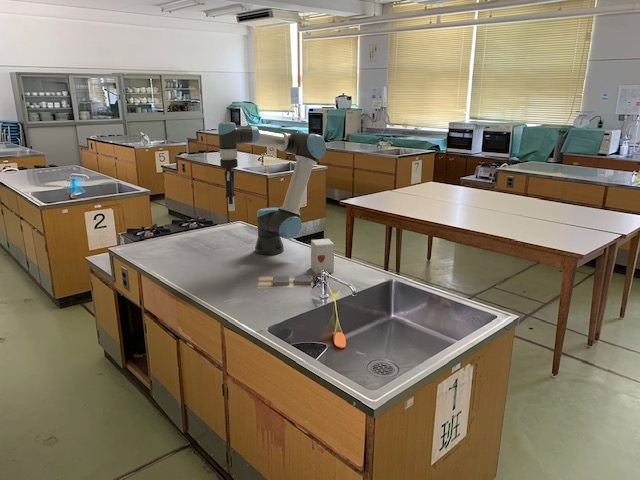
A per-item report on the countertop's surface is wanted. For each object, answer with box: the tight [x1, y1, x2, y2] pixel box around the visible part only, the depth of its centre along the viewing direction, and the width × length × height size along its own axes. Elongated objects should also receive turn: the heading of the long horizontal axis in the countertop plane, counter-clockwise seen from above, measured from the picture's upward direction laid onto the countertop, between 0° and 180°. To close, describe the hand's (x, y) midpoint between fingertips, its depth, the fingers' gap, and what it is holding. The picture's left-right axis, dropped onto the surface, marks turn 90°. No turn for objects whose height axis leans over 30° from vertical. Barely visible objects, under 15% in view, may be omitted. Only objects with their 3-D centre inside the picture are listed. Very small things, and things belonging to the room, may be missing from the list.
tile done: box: [294, 274, 312, 285], centre depth 214 cm, size 7×7×2 cm
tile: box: [273, 275, 290, 286], centre depth 214 cm, size 2×7×7 cm
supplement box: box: [310, 238, 335, 274], centre depth 228 cm, size 9×9×15 cm
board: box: [257, 274, 314, 289], centre depth 215 cm, size 14×24×1 cm, turn 93°
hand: (231, 210), depth 223 cm, fingers closed
